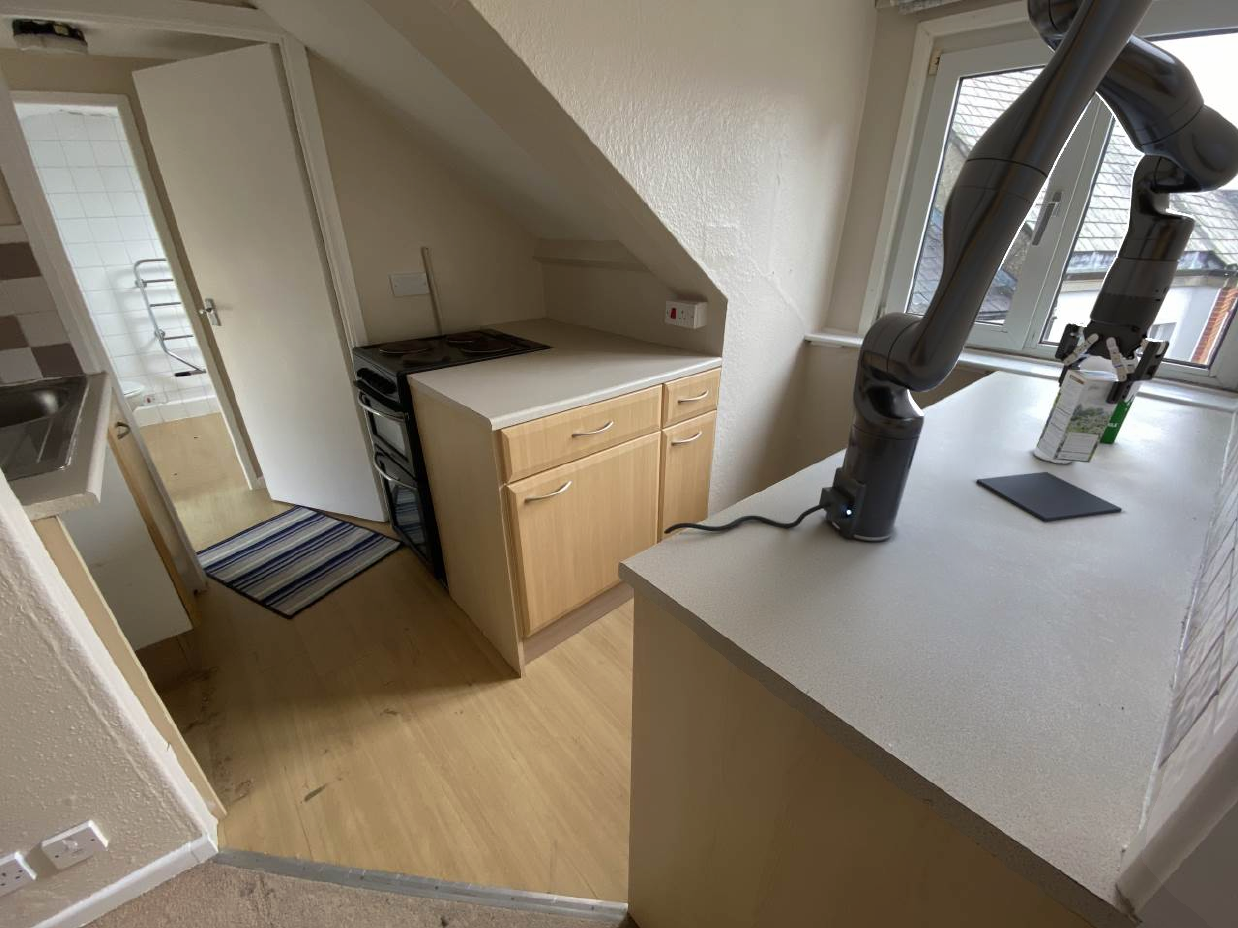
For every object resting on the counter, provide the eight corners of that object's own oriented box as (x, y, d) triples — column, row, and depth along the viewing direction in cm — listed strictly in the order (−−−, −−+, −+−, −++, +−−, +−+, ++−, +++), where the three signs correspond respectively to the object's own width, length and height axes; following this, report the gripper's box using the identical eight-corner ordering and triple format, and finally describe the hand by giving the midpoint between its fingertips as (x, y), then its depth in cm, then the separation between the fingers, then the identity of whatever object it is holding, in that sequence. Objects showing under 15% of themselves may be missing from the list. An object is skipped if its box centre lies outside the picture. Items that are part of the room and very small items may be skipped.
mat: (1044, 521, 87) (1046, 518, 87) (976, 482, 99) (977, 479, 99) (1120, 511, 90) (1122, 508, 90) (1045, 474, 103) (1046, 471, 102)
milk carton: (1104, 431, 123) (1143, 346, 114) (1120, 446, 115) (1163, 356, 106) (1059, 425, 126) (1093, 341, 117) (1071, 439, 118) (1110, 351, 109)
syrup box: (1071, 450, 93) (1105, 370, 87) (1091, 464, 88) (1129, 380, 82) (1035, 447, 94) (1066, 367, 88) (1052, 460, 89) (1087, 377, 83)
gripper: (1066, 284, 85) (1029, 383, 92) (1167, 299, 72) (1115, 412, 79) (1103, 283, 86) (1064, 381, 93) (1208, 298, 74) (1153, 409, 81)
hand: (1088, 395), depth 86 cm, fingers closed on syrup box, 7 cm apart
